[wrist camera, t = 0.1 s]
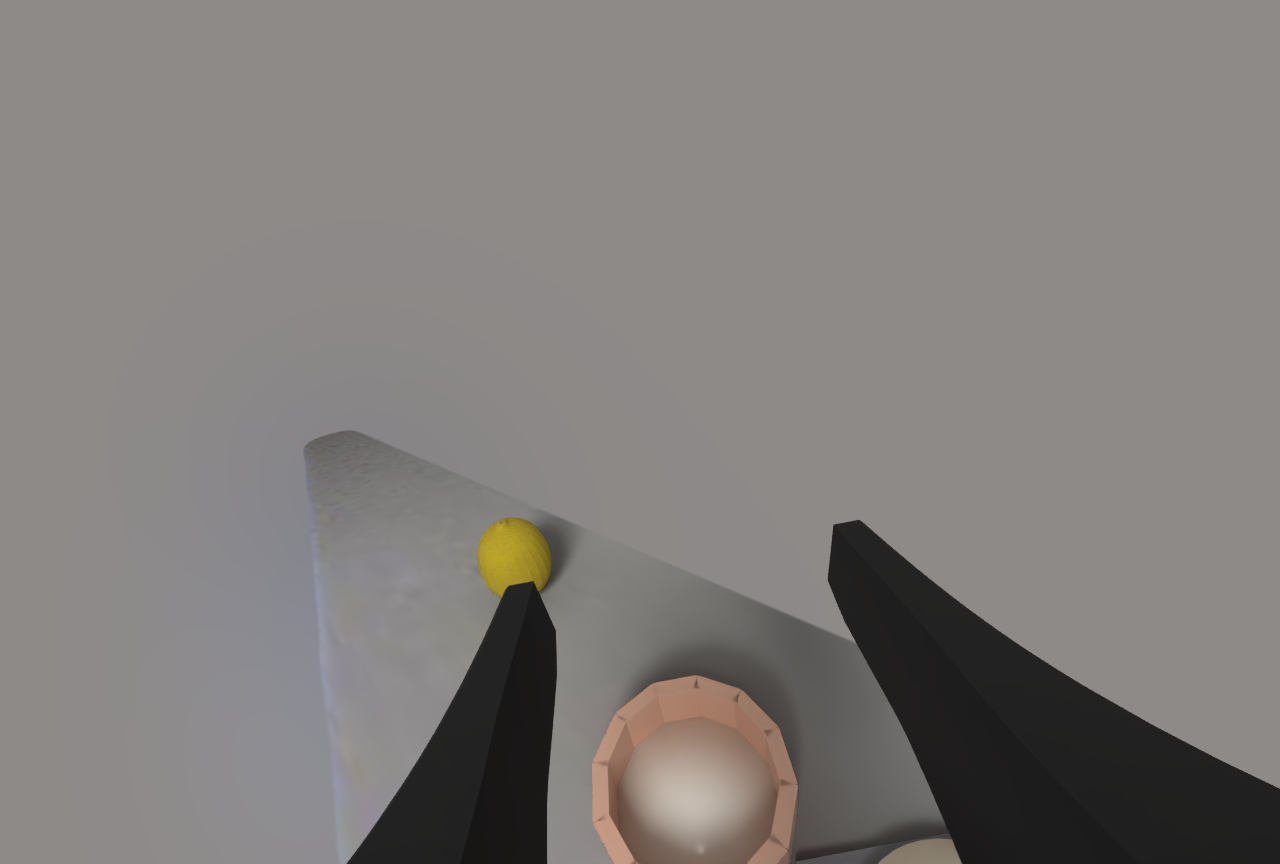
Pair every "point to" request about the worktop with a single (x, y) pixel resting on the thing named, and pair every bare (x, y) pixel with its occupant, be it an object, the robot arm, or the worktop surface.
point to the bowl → (694, 779)
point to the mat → (866, 853)
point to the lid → (924, 853)
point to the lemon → (513, 555)
